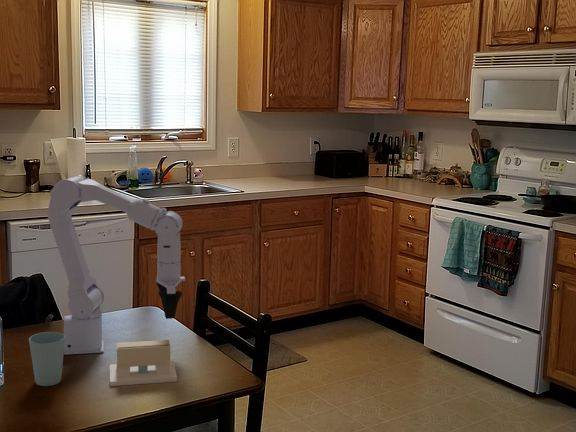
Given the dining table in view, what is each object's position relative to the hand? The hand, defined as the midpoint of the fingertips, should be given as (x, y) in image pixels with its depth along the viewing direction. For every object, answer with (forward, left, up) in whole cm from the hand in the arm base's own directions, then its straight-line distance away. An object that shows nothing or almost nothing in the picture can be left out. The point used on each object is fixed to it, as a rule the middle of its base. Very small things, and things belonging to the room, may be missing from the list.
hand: (168, 313), depth 173 cm
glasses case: (-7, -13, -7) cm, 16 cm away
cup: (-28, -13, -11) cm, 33 cm away
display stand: (-7, -13, -10) cm, 18 cm away
